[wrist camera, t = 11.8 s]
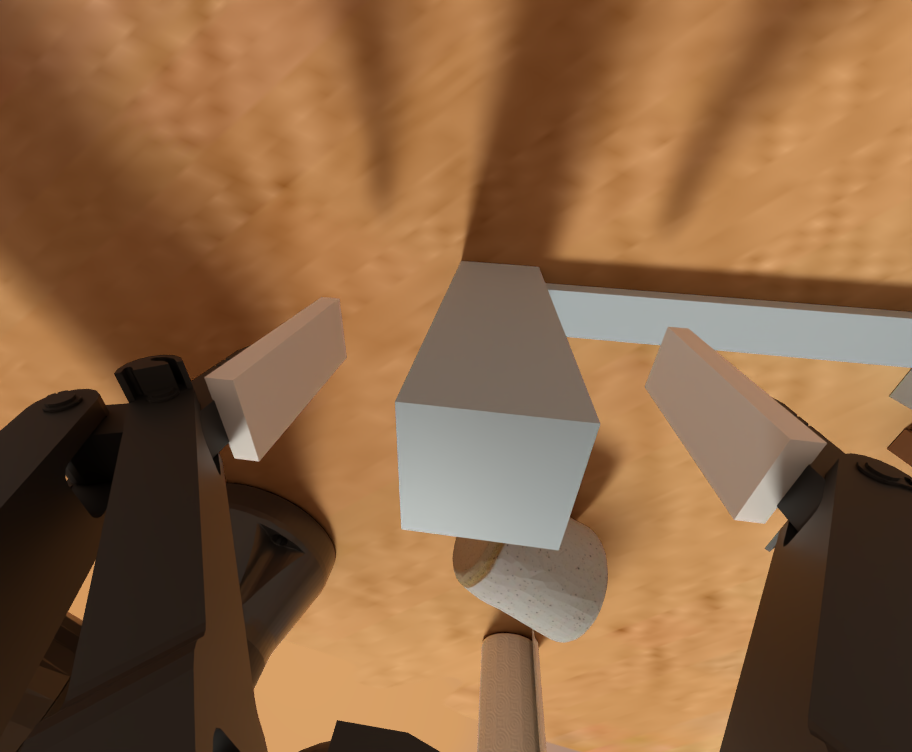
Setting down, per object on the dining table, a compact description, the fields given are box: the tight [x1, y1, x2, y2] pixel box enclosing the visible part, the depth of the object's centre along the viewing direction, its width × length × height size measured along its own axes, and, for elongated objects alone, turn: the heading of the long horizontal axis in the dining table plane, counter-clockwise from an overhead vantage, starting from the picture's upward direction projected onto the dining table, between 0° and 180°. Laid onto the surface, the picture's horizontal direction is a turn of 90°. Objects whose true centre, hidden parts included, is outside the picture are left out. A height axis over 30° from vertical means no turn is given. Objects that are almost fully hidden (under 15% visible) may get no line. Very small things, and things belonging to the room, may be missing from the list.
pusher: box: [395, 261, 912, 550], centre depth 13 cm, size 26×7×13 cm, turn 87°
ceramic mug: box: [453, 518, 608, 642], centre depth 25 cm, size 11×8×8 cm
